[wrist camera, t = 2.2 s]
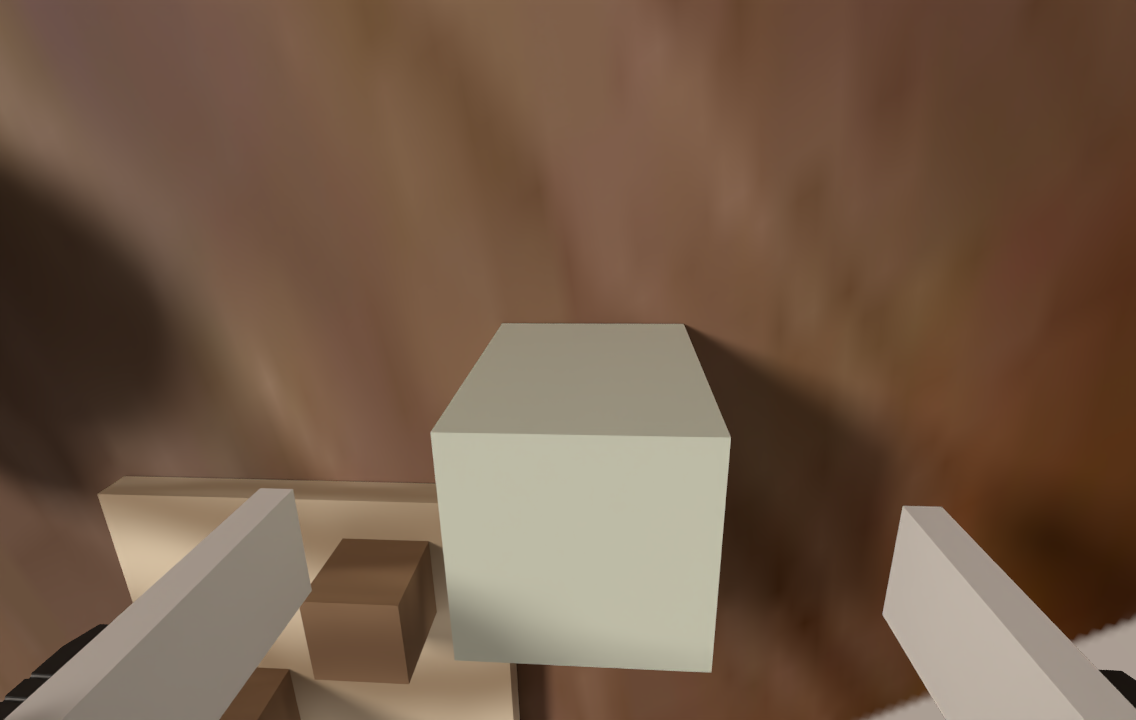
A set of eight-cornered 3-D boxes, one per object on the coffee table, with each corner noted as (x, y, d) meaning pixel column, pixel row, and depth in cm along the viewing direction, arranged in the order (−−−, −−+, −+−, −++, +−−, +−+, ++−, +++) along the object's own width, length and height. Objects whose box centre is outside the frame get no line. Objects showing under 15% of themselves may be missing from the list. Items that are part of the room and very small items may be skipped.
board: (125, 476, 21) (12, 549, 17) (505, 484, 20) (479, 565, 16) (209, 753, 26) (136, 861, 22) (523, 772, 25) (505, 889, 21)
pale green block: (502, 323, 18) (431, 432, 11) (683, 323, 18) (731, 437, 11) (511, 480, 20) (454, 660, 13) (675, 484, 20) (711, 672, 12)
